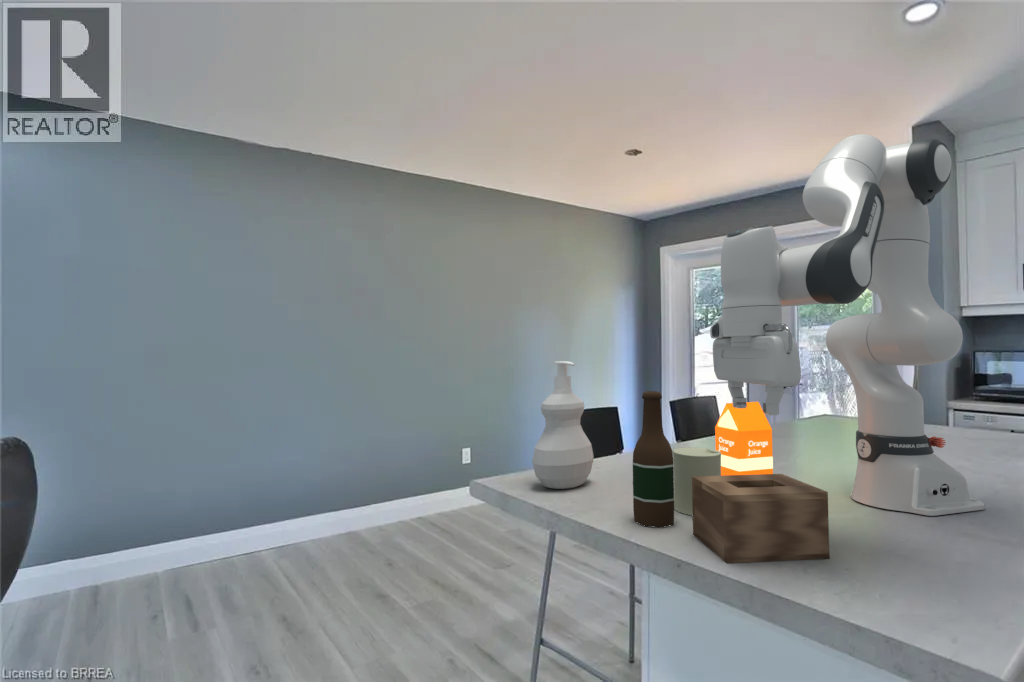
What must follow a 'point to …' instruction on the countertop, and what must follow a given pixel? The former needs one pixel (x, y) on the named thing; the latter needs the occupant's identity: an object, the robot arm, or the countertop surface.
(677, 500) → the can
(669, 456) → the beer bottle
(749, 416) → the orange juice
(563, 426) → the soap bottle
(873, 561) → the countertop surface
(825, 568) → the countertop surface
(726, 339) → the robot arm
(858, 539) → the countertop surface
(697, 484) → the coin box
